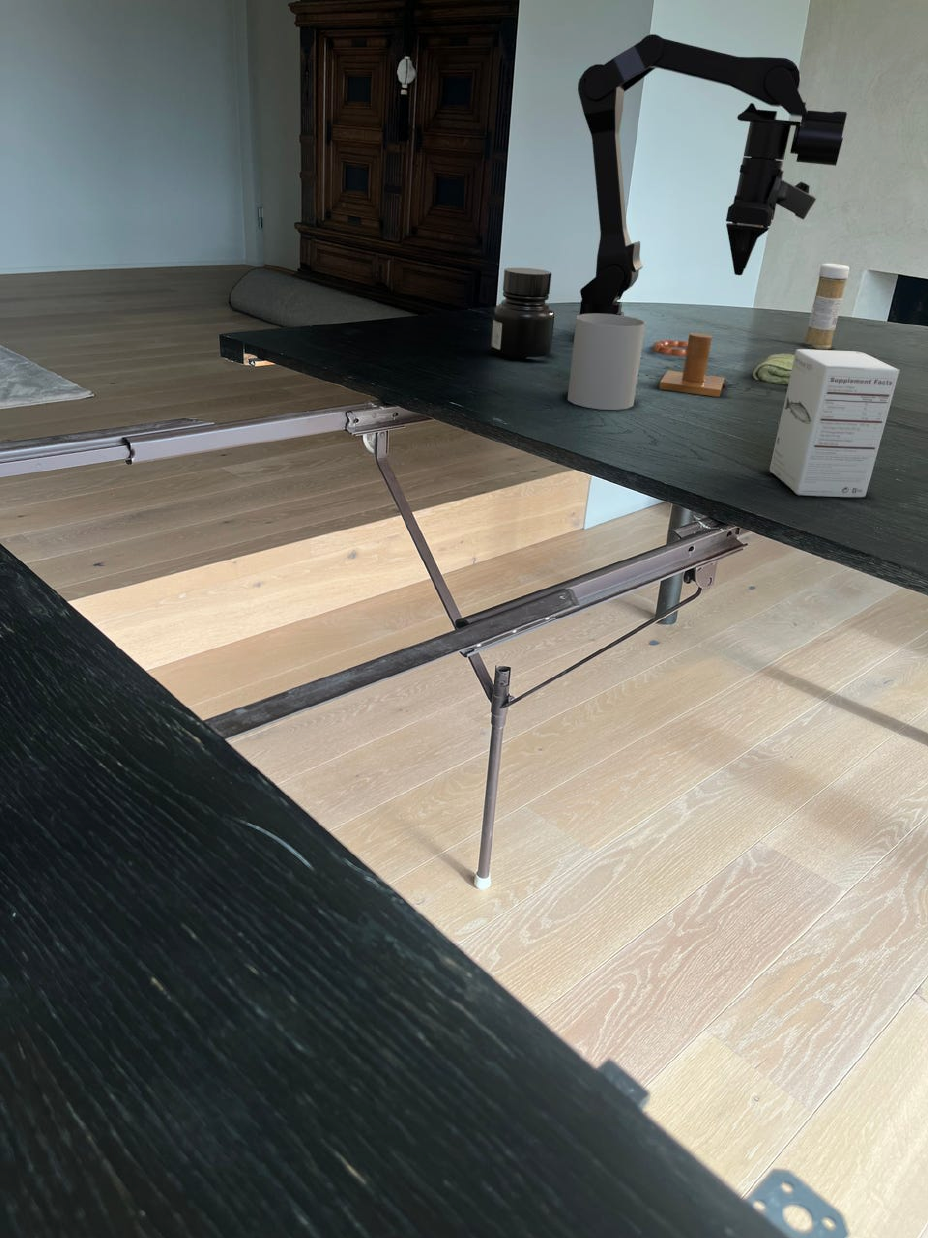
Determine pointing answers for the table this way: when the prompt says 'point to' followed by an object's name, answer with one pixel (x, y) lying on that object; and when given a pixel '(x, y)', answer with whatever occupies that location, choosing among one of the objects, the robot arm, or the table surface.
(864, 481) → the white packaging box
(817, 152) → the robot arm
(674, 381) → the wooden peg stand
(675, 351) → the ring
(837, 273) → the sprinkles bottle
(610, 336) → the cup
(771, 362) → the washcloth
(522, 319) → the ink bottle
